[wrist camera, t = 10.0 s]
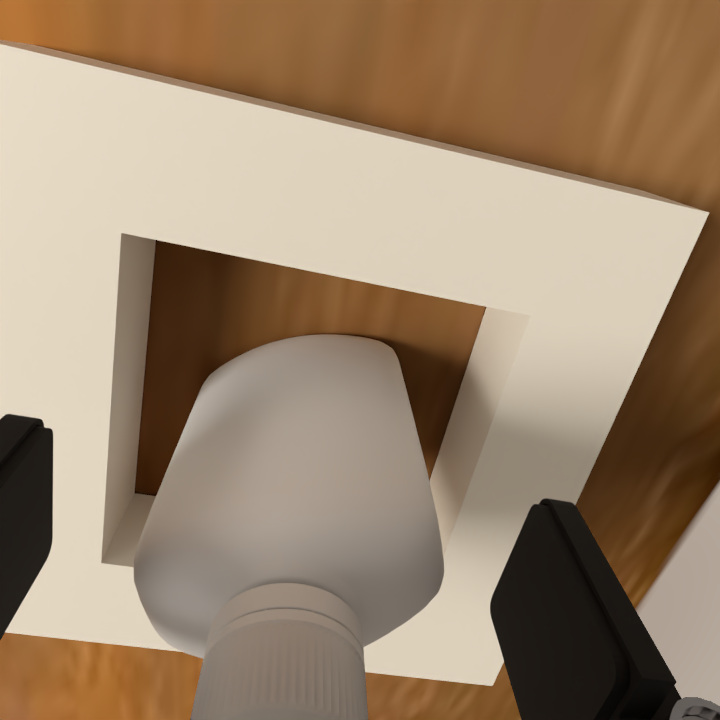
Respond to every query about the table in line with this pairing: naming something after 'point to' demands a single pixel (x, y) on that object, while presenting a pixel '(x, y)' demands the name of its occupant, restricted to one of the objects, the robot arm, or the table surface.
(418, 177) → the cream square frame
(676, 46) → the table surface
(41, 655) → the table surface
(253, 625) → the eye dropper bottle
